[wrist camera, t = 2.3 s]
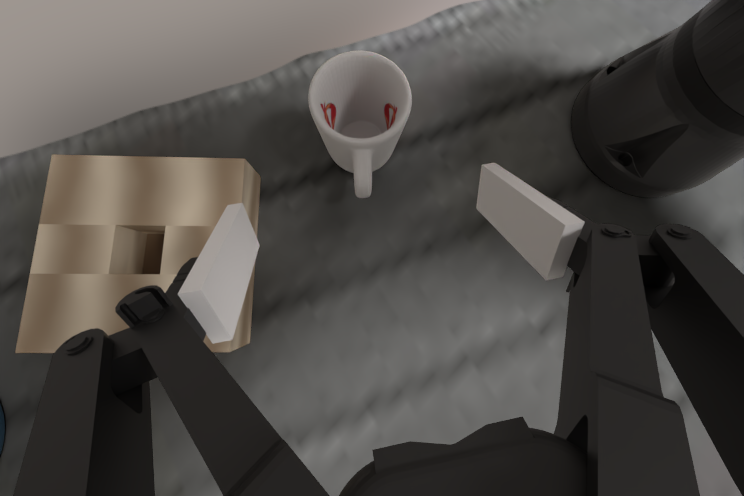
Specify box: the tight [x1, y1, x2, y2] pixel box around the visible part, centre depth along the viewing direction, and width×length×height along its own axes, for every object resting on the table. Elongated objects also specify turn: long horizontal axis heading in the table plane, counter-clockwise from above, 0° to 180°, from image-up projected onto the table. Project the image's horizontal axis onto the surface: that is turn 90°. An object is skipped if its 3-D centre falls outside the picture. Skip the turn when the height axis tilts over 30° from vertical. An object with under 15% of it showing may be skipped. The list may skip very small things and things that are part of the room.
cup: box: [308, 51, 412, 198], centre depth 25 cm, size 11×8×8 cm
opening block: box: [15, 155, 261, 353], centre depth 25 cm, size 16×16×4 cm
